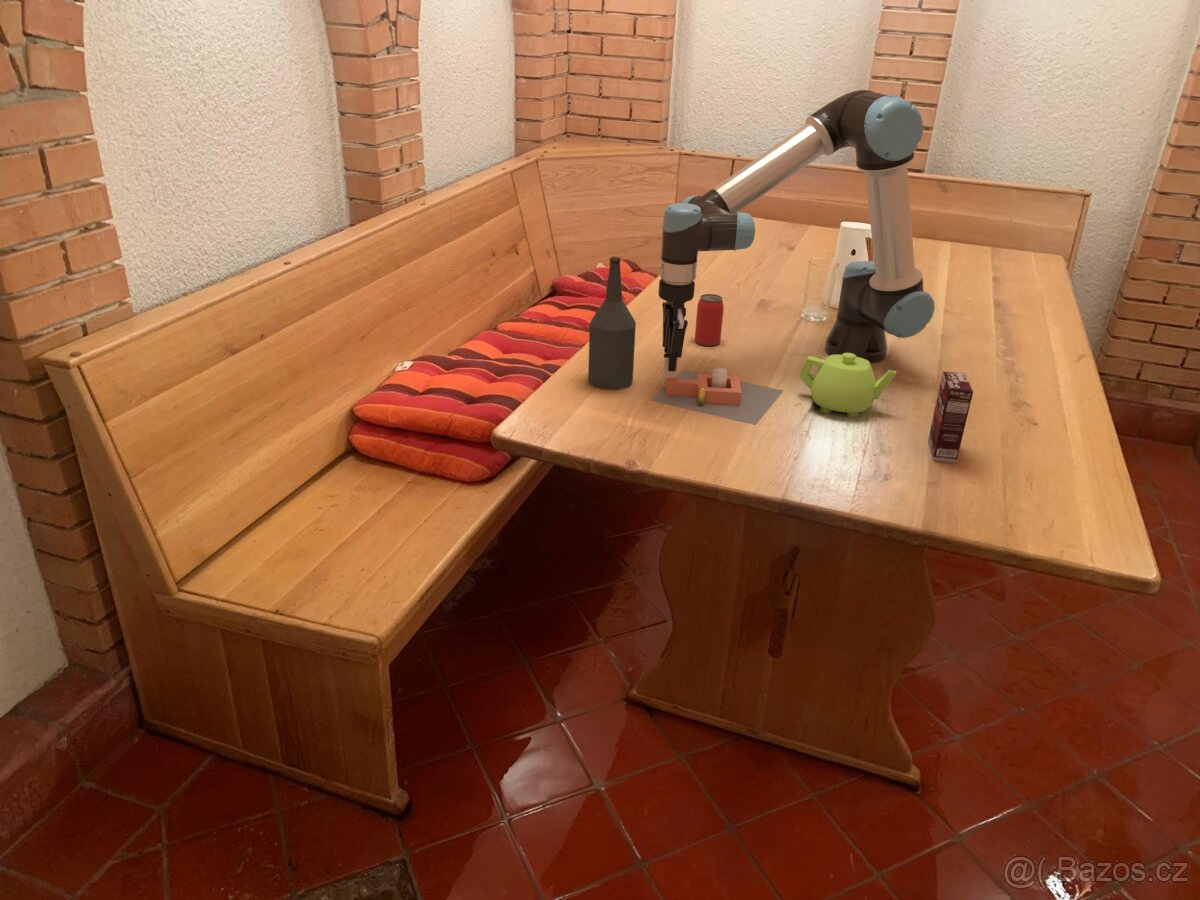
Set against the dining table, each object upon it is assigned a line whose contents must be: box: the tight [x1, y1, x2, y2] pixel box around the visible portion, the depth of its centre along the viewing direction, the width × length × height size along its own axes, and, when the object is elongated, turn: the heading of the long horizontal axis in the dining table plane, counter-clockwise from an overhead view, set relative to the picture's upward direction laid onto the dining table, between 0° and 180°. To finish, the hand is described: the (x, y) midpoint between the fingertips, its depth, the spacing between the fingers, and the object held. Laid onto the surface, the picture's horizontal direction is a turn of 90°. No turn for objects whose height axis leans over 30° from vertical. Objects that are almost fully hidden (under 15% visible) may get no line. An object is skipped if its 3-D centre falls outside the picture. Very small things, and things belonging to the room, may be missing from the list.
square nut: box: [665, 373, 742, 405], centre depth 200 cm, size 16×9×3 cm, turn 86°
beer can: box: [694, 293, 725, 347], centre depth 231 cm, size 7×7×12 cm
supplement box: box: [927, 371, 974, 464], centre depth 179 cm, size 9×5×16 cm, turn 169°
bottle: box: [587, 256, 637, 391], centre depth 200 cm, size 10×10×30 cm
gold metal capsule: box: [697, 386, 706, 406], centre depth 195 cm, size 2×2×4 cm
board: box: [649, 366, 784, 426], centre depth 200 cm, size 24×20×8 cm
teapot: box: [798, 353, 897, 419], centre depth 198 cm, size 20×13×13 cm
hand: (669, 382), depth 202 cm, fingers closed
